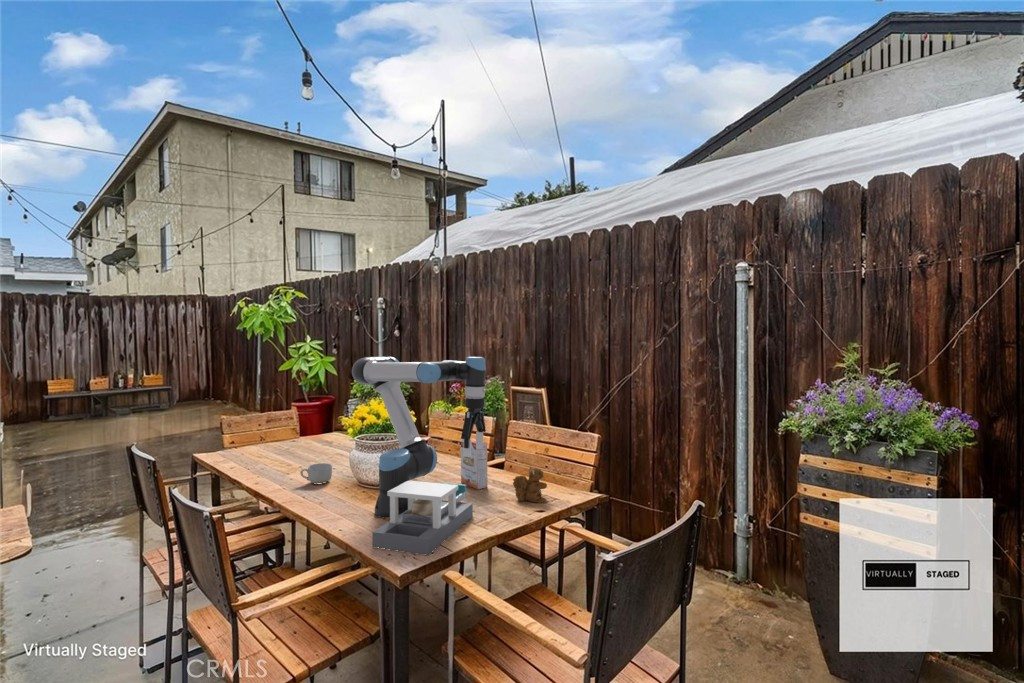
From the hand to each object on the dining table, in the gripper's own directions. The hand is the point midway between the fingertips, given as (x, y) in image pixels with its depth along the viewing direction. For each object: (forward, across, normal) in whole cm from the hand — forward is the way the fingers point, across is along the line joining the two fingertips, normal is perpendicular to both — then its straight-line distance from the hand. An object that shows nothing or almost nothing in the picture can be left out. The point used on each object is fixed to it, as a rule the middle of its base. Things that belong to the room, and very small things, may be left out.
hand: (473, 452), depth 194 cm
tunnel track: (+24, -21, +9) cm, 33 cm away
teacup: (+27, +20, +85) cm, 91 cm away
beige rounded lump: (+19, -23, +9) cm, 31 cm away
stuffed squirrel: (+23, +22, -18) cm, 37 cm away
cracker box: (+25, +35, +12) cm, 45 cm away
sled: (+18, -13, +9) cm, 24 cm away
